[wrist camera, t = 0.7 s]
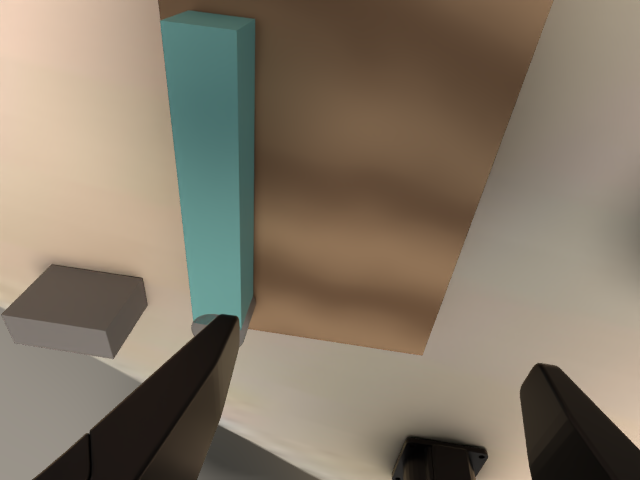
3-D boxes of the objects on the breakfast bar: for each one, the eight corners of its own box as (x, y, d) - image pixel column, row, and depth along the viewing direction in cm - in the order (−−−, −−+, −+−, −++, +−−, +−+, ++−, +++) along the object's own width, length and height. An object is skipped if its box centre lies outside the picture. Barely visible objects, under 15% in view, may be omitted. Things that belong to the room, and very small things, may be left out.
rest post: (147, 305, 28) (113, 358, 25) (61, 292, 29) (14, 343, 25) (142, 278, 27) (105, 330, 23) (51, 264, 27) (0, 314, 24)
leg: (255, 321, 25) (244, 354, 23) (208, 313, 25) (193, 346, 23) (259, 19, 15) (241, 31, 13) (184, 9, 16) (155, 19, 14)
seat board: (419, 330, 27) (422, 355, 25) (204, 297, 27) (193, 320, 26) (550, -47, 15) (570, -46, 14) (171, -93, 16) (147, -97, 14)
